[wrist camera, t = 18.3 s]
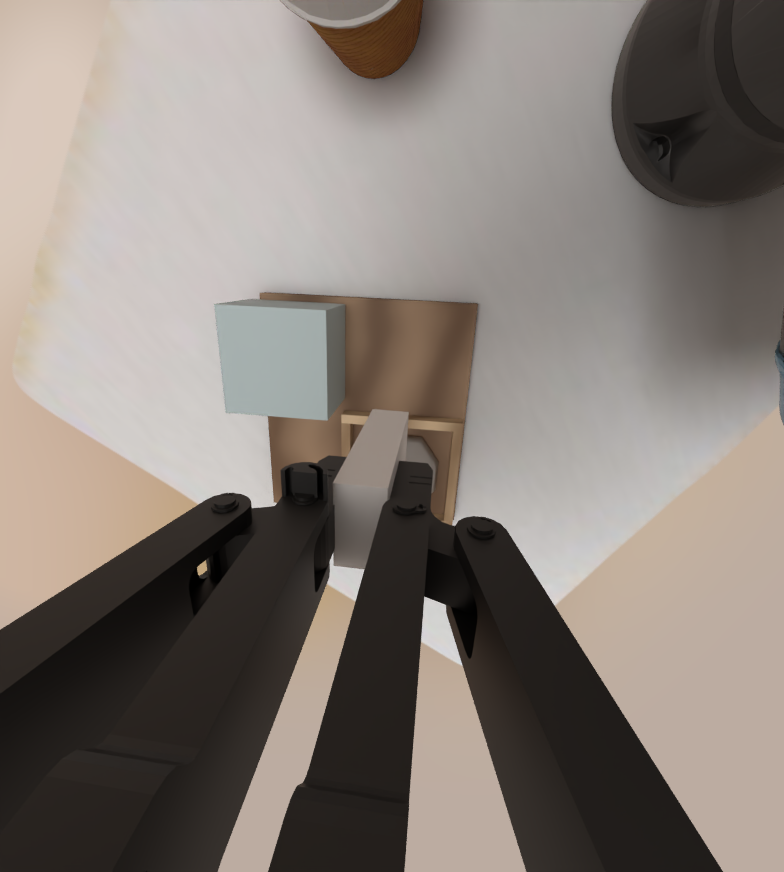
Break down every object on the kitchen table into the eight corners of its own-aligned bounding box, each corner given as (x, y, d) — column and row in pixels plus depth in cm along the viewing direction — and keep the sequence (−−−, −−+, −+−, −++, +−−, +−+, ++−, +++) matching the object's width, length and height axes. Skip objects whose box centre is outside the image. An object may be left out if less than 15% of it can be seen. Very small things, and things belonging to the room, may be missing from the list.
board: (476, 303, 35) (481, 307, 31) (453, 515, 42) (454, 540, 38) (265, 292, 36) (243, 294, 32) (278, 499, 44) (262, 521, 40)
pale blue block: (345, 304, 35) (326, 310, 29) (345, 397, 38) (327, 420, 32) (251, 298, 35) (214, 304, 30) (258, 391, 38) (225, 412, 32)
